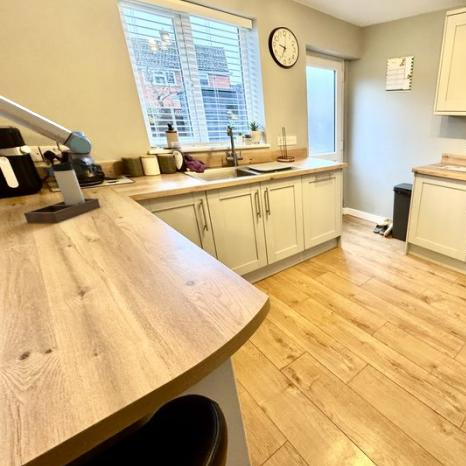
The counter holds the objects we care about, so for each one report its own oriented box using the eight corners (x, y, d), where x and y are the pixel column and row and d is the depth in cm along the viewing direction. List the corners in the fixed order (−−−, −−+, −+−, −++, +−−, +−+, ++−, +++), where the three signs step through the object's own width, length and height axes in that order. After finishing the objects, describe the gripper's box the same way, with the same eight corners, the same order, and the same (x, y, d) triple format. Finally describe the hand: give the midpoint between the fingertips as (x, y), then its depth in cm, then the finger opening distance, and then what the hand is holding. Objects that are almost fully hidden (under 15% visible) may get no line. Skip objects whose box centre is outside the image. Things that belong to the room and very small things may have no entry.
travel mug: (87, 209, 124) (70, 162, 117) (66, 212, 121) (48, 163, 113) (89, 206, 129) (73, 160, 121) (69, 208, 125) (51, 161, 118)
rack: (28, 223, 110) (23, 213, 108) (75, 207, 130) (72, 198, 128) (58, 223, 110) (53, 213, 109) (100, 207, 130) (97, 198, 129)
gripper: (113, 171, 150) (108, 177, 133) (48, 175, 138) (33, 183, 121) (109, 156, 147) (103, 161, 131) (42, 159, 135) (26, 165, 118)
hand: (69, 171), depth 126 cm, fingers open, 13 cm apart
